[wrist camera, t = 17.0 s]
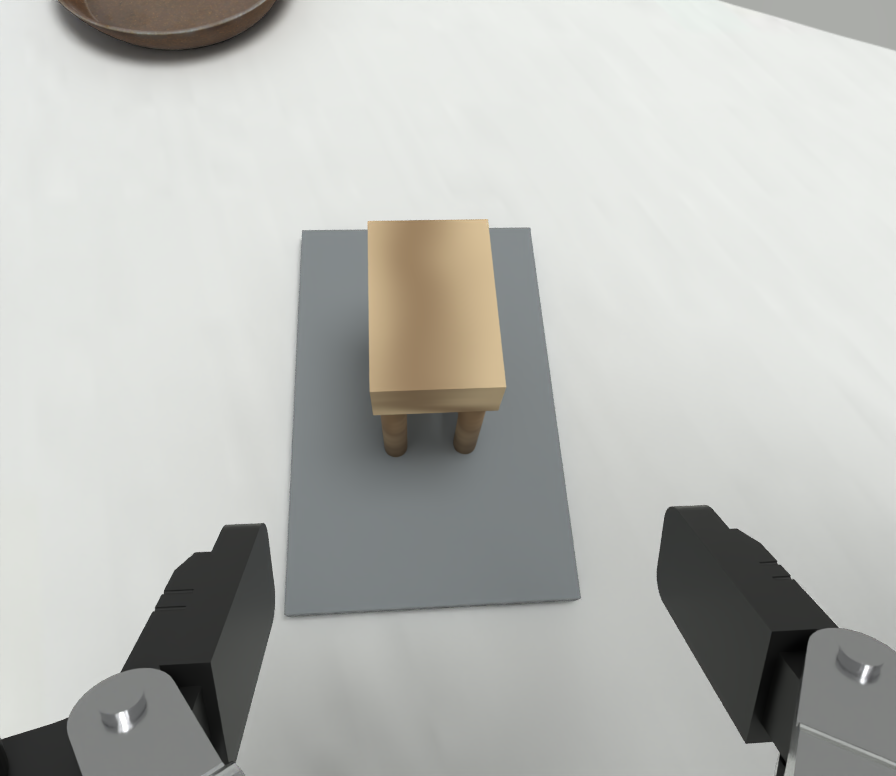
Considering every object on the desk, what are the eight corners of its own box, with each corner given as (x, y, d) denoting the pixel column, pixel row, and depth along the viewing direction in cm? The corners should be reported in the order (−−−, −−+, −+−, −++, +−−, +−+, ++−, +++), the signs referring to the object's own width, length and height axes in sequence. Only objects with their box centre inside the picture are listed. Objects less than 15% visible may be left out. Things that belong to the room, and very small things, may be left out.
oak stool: (469, 326, 36) (488, 219, 27) (481, 460, 32) (506, 387, 24) (378, 329, 35) (367, 221, 27) (380, 465, 32) (369, 391, 23)
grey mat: (575, 600, 31) (580, 598, 30) (288, 616, 30) (284, 614, 29) (527, 237, 40) (529, 227, 39) (304, 240, 39) (302, 230, 38)
